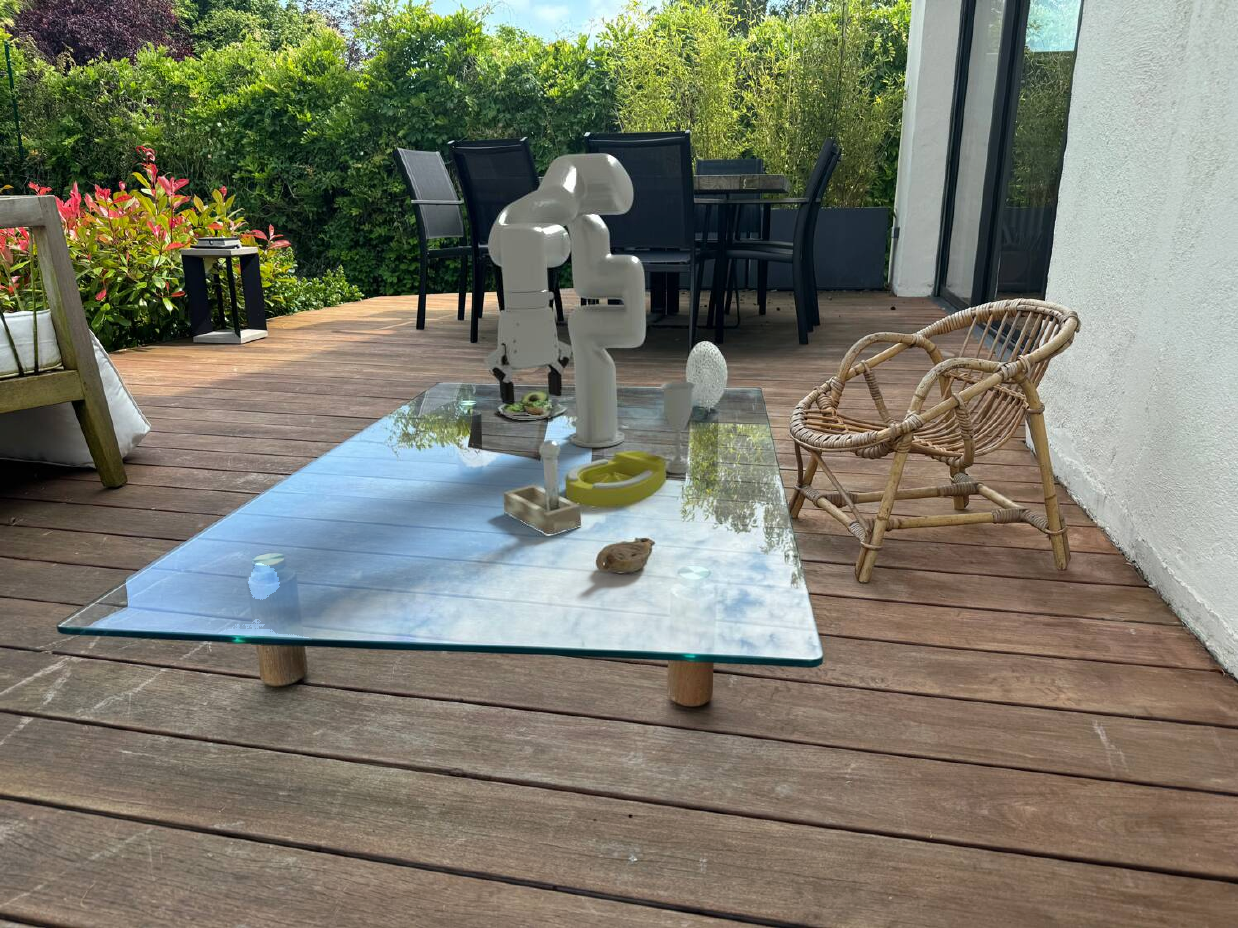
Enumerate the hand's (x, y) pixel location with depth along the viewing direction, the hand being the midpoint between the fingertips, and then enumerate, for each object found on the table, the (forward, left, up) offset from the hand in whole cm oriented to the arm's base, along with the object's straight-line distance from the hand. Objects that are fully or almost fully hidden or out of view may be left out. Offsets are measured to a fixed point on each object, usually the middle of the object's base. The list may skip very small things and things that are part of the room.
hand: (532, 399), depth 150 cm
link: (+3, -1, -22) cm, 22 cm away
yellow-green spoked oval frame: (-1, +18, -22) cm, 29 cm away
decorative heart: (-36, +75, -22) cm, 86 cm away
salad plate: (-65, +39, -22) cm, 79 cm away
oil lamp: (+29, -2, -22) cm, 36 cm away
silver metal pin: (+7, -1, -22) cm, 23 cm away
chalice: (-2, +36, -22) cm, 42 cm away
